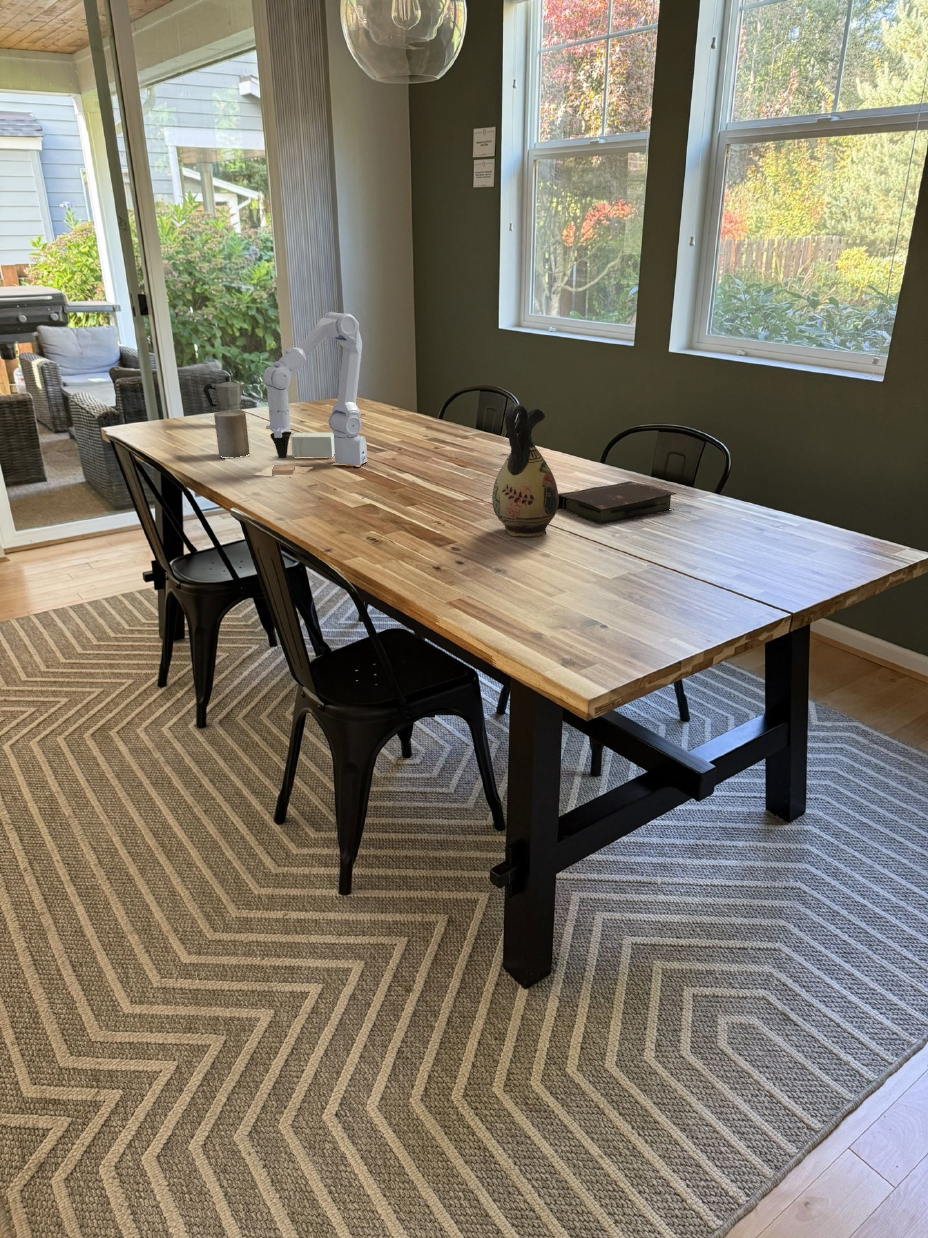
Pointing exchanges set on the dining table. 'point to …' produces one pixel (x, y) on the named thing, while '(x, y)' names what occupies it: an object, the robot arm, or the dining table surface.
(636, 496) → the diary
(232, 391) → the coffeepot
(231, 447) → the pillar candle
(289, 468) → the terracotta tile
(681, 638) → the dining table surface
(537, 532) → the ceramic jug
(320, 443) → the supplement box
